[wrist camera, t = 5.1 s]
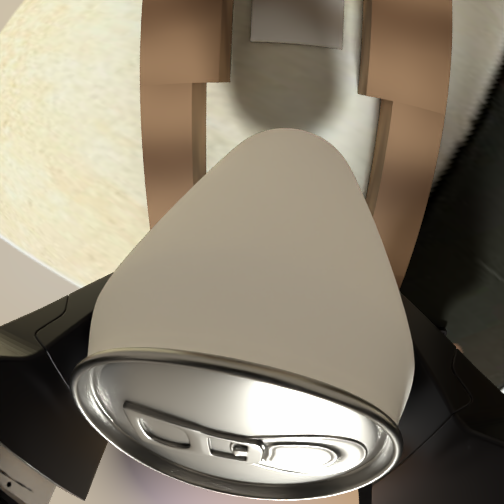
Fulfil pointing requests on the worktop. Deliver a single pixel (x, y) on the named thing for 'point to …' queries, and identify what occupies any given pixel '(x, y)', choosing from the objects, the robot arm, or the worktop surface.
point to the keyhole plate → (306, 33)
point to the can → (255, 332)
